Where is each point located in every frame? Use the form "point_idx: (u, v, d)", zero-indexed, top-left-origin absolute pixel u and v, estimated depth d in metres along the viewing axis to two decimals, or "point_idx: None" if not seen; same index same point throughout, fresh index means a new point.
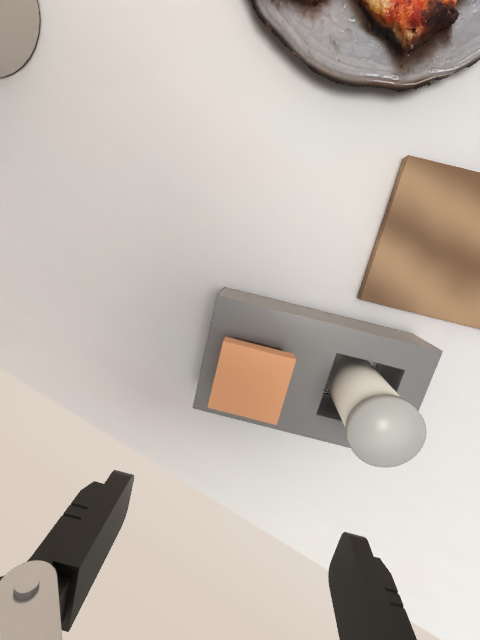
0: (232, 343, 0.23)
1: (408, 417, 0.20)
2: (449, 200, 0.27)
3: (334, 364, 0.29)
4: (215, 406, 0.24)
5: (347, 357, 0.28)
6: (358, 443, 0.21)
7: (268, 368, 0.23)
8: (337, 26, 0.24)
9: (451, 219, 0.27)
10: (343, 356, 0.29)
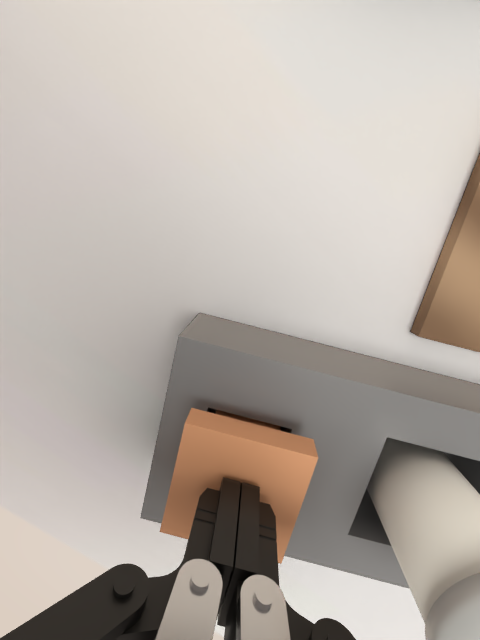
0: (202, 426, 0.12)
1: None
2: None
3: None
4: (173, 530, 0.13)
5: None
6: None
7: (267, 471, 0.13)
8: None
9: None
10: None
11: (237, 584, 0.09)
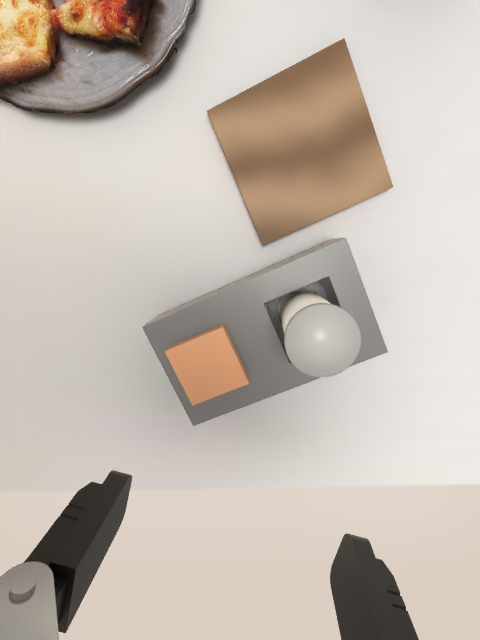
0: (172, 348, 0.26)
1: (327, 315, 0.20)
2: (266, 116, 0.27)
3: (280, 312, 0.29)
4: (196, 401, 0.27)
5: (286, 298, 0.29)
6: (307, 365, 0.21)
7: (209, 347, 0.26)
8: (81, 67, 0.27)
9: (280, 129, 0.27)
10: (283, 300, 0.29)
11: None
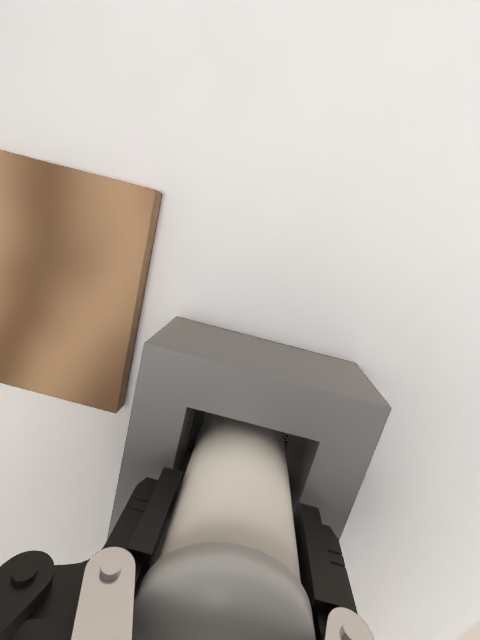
0: None
1: (168, 607, 0.08)
2: None
3: None
4: None
5: None
6: None
7: None
8: None
9: None
10: None
11: (317, 616, 0.09)
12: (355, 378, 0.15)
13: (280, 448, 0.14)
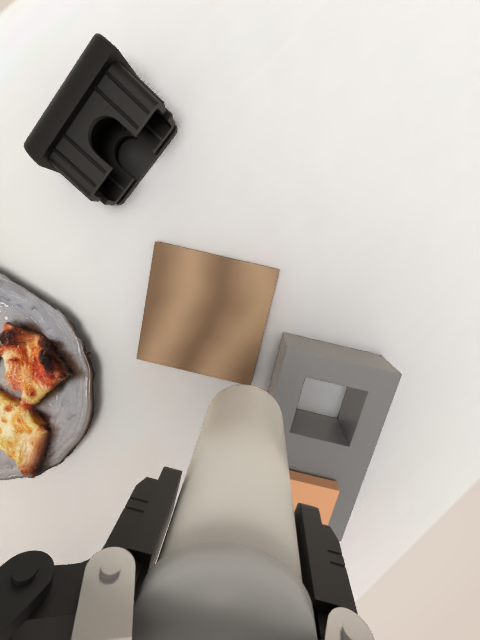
0: None
1: (169, 607, 0.08)
2: (167, 324, 0.32)
3: None
4: None
5: None
6: None
7: None
8: (60, 411, 0.36)
9: (181, 320, 0.32)
10: None
11: (317, 616, 0.09)
12: (382, 362, 0.30)
13: (280, 448, 0.14)
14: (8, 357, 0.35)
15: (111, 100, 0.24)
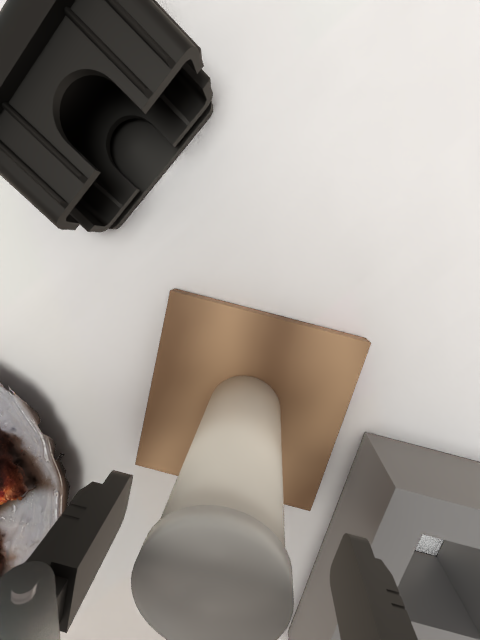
0: None
1: (167, 557, 0.09)
2: (184, 417, 0.21)
3: None
4: None
5: None
6: None
7: None
8: (19, 531, 0.24)
9: None
10: None
11: None
12: None
13: (274, 433, 0.15)
14: None
15: (98, 37, 0.12)
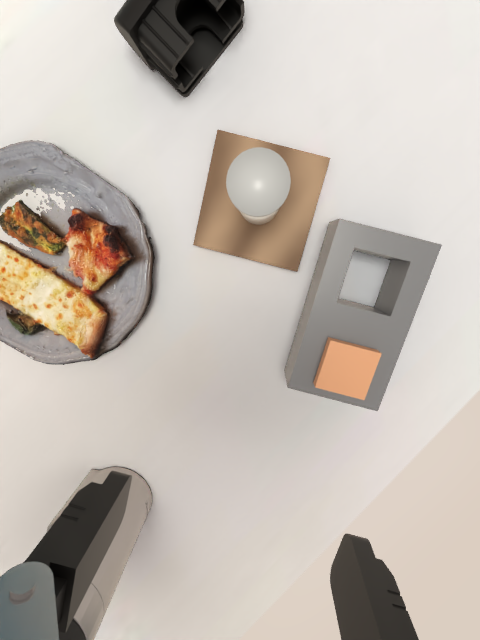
0: (317, 381, 0.33)
1: (241, 165, 0.24)
2: (223, 211, 0.35)
3: (243, 216, 0.33)
4: (363, 394, 0.33)
5: None
6: (267, 206, 0.25)
7: (336, 358, 0.33)
8: (118, 298, 0.39)
9: None
10: None
11: None
12: None
13: None
14: (73, 244, 0.37)
15: None
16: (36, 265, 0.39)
